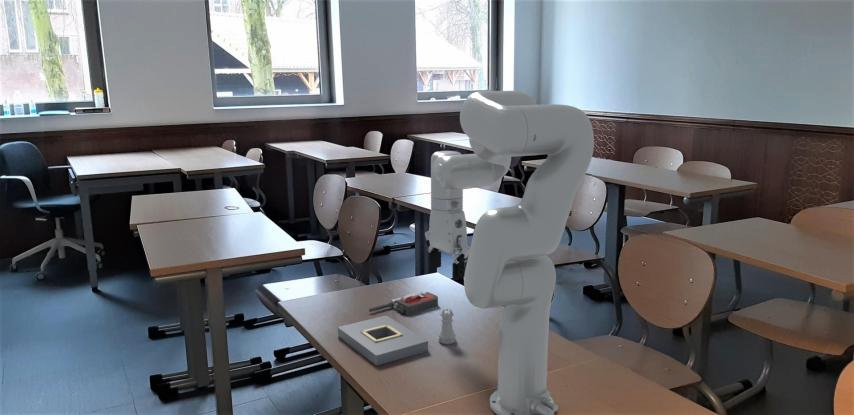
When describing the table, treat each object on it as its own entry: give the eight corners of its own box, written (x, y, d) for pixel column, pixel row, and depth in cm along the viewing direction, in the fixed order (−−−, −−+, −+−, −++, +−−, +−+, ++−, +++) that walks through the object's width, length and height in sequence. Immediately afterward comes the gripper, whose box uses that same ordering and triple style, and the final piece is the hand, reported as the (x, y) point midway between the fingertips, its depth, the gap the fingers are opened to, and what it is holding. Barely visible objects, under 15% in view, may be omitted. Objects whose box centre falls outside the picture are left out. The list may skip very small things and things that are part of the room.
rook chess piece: (454, 345, 155) (454, 314, 153) (436, 344, 156) (436, 313, 154) (457, 338, 159) (457, 308, 157) (439, 337, 160) (439, 306, 158)
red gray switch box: (424, 298, 189) (367, 313, 177) (424, 284, 188) (366, 298, 176) (442, 306, 182) (384, 323, 170) (442, 291, 181) (384, 307, 169)
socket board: (428, 350, 152) (427, 339, 151) (376, 365, 144) (376, 354, 144) (386, 324, 168) (385, 314, 168) (338, 336, 161) (337, 326, 160)
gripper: (482, 208, 145) (481, 279, 149) (439, 196, 159) (439, 261, 163) (455, 212, 141) (455, 285, 145) (413, 199, 155) (414, 266, 159)
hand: (446, 272), depth 154 cm, fingers open, 9 cm apart
